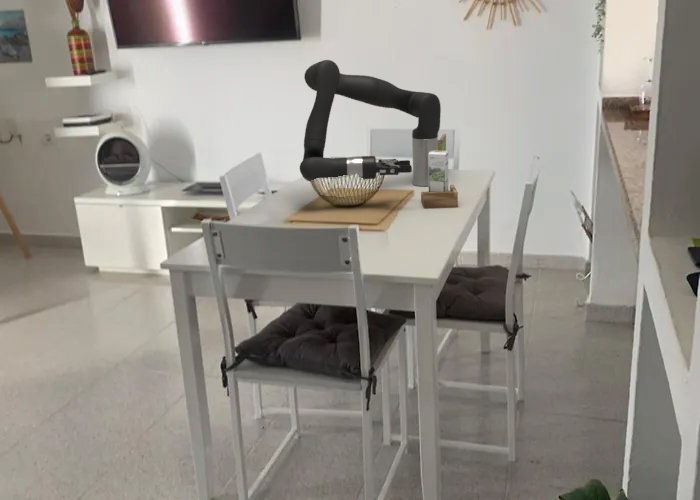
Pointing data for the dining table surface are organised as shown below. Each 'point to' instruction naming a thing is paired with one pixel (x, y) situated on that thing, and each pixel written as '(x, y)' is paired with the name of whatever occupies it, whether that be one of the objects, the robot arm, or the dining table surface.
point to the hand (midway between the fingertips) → (410, 166)
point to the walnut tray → (440, 199)
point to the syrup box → (438, 171)
